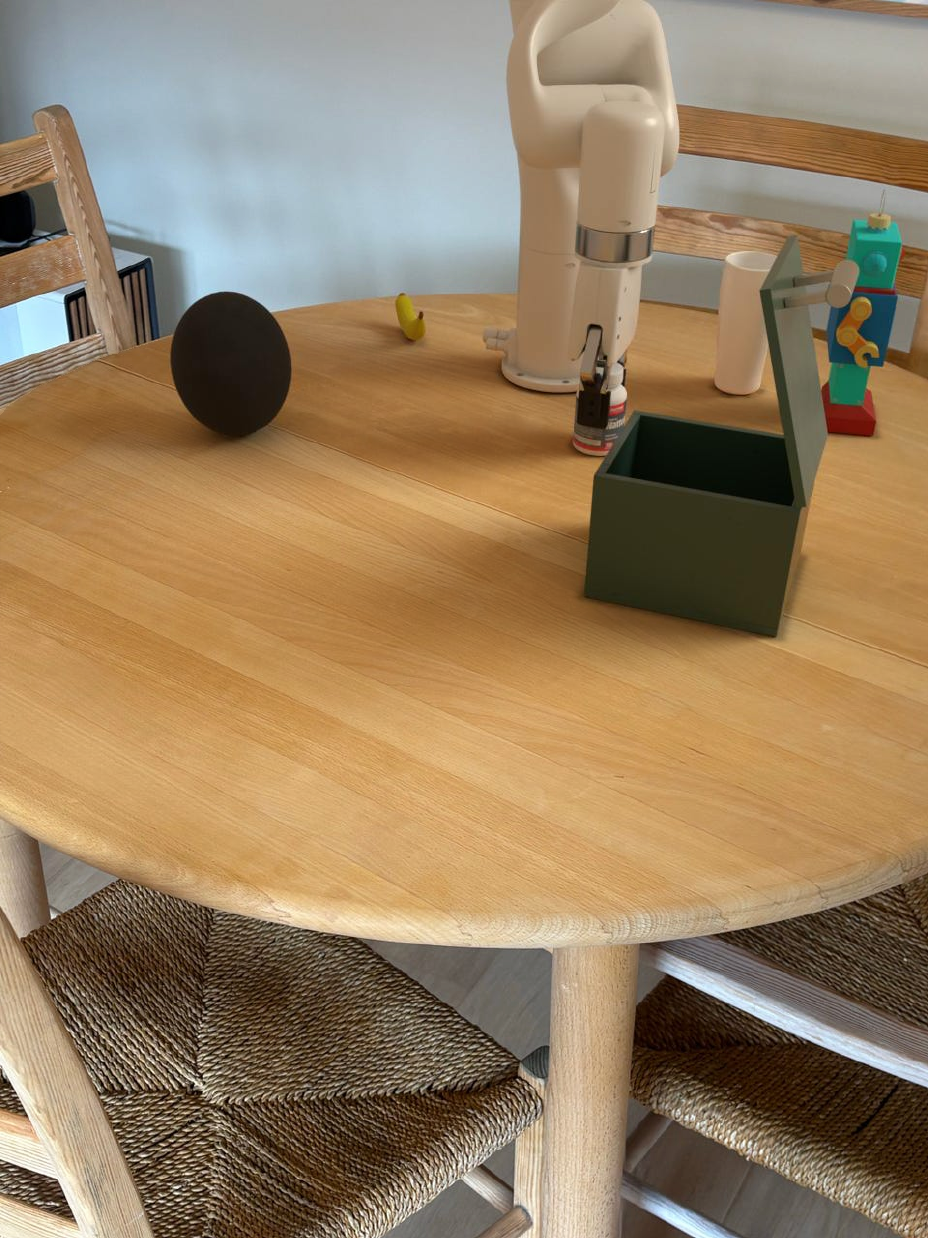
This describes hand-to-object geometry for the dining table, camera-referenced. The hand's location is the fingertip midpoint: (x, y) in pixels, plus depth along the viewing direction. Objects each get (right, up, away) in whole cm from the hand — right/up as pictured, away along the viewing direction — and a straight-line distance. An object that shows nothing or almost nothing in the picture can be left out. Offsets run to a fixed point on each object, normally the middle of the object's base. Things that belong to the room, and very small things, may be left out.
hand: (600, 412), depth 130 cm
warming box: (+6, -18, -19) cm, 27 cm away
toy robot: (+28, +1, +9) cm, 29 cm away
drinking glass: (+18, +5, +15) cm, 24 cm away
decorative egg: (-39, -1, +4) cm, 39 cm away
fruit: (-21, +14, +27) cm, 37 cm away
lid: (+12, -2, -32) cm, 34 cm away
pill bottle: (0, -3, +2) cm, 4 cm away
